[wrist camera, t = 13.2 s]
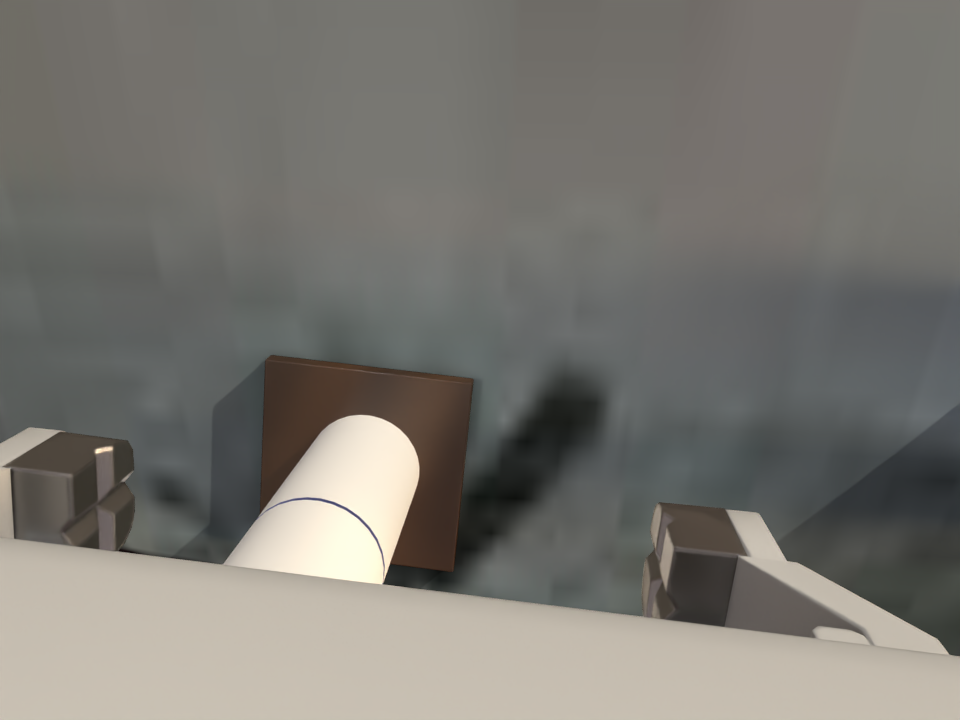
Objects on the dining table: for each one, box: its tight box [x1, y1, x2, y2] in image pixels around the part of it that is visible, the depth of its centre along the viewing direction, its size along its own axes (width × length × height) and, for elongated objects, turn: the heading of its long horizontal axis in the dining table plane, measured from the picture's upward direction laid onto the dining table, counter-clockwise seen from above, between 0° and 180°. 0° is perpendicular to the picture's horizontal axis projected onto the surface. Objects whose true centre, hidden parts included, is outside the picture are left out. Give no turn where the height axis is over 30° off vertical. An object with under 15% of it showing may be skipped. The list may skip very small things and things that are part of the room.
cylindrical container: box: [223, 415, 419, 584], centre depth 41 cm, size 7×7×25 cm
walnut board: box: [260, 355, 474, 572], centre depth 54 cm, size 13×13×1 cm
